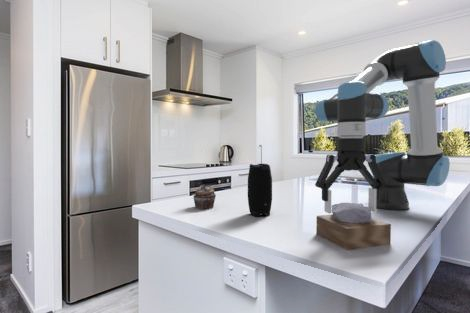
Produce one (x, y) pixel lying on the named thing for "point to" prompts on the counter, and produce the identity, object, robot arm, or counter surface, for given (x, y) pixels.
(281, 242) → the counter surface
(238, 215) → the counter surface
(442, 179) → the robot arm
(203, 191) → the cupcake
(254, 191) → the portable speaker
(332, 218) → the walnut block
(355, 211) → the stone block
